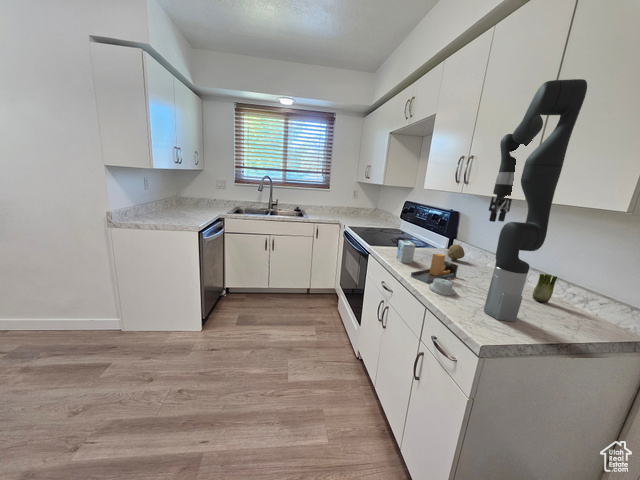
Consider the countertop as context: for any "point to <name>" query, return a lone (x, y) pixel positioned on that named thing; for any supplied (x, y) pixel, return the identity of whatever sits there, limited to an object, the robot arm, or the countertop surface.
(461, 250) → the natural sponge
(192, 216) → the countertop surface
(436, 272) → the orange block
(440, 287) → the mechanical component
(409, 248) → the light bulb box
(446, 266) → the keeper
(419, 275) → the dark grey tray
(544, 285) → the fennel bulb
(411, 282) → the countertop surface
